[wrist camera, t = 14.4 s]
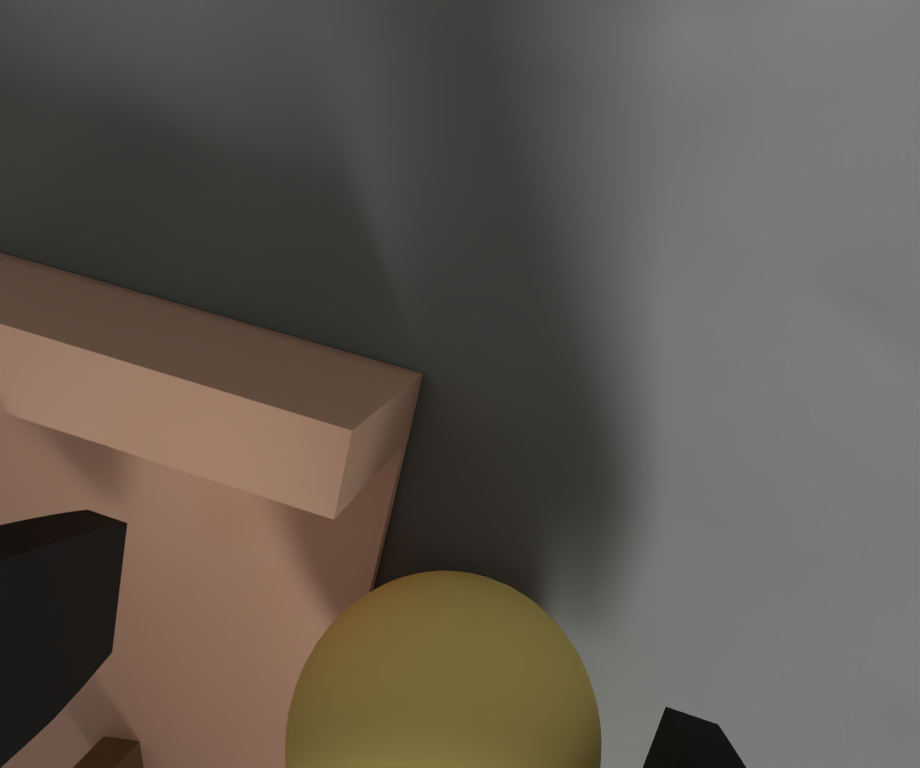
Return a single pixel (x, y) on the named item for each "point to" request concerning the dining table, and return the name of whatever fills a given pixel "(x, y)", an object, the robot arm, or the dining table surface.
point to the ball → (443, 683)
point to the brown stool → (113, 754)
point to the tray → (196, 503)
